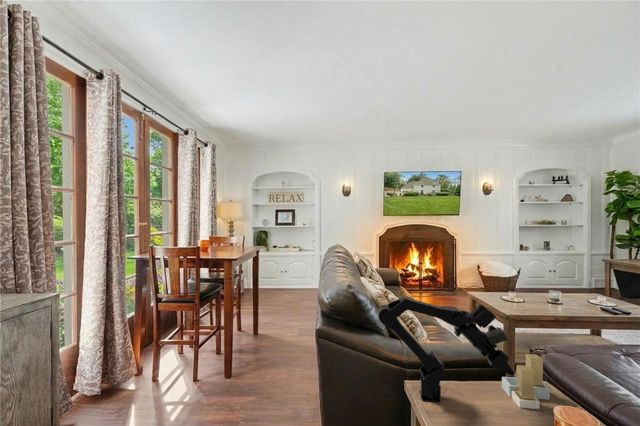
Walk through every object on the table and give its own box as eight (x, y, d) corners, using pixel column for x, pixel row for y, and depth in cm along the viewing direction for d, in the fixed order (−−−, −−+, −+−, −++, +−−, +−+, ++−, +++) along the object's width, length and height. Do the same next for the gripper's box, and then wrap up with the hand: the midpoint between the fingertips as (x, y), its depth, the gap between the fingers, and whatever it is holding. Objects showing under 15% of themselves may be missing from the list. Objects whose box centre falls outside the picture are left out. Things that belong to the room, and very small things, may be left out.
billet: (521, 405, 115) (521, 370, 115) (516, 399, 119) (516, 365, 119) (534, 406, 114) (534, 371, 114) (528, 400, 118) (528, 365, 118)
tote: (519, 407, 114) (519, 400, 114) (511, 397, 120) (511, 390, 120) (539, 409, 113) (539, 401, 113) (530, 398, 119) (530, 391, 119)
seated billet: (531, 392, 121) (530, 358, 121) (525, 386, 124) (525, 353, 125) (543, 393, 120) (543, 359, 120) (537, 387, 124) (537, 354, 124)
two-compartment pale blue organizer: (509, 396, 120) (509, 385, 120) (501, 387, 127) (501, 376, 127) (549, 399, 118) (549, 388, 118) (539, 389, 125) (539, 379, 125)
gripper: (502, 330, 109) (538, 365, 107) (482, 313, 127) (513, 343, 126) (477, 352, 110) (513, 387, 108) (461, 332, 128) (491, 362, 127)
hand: (507, 368), depth 117 cm, fingers open, 9 cm apart
